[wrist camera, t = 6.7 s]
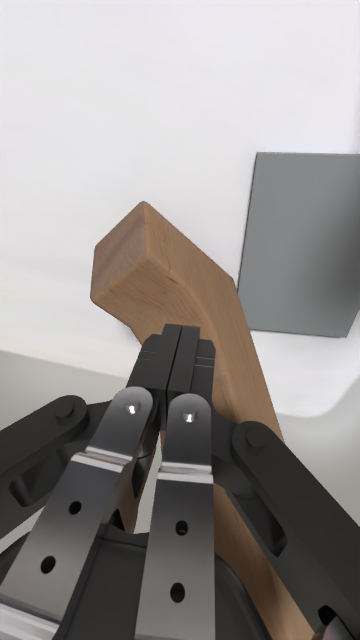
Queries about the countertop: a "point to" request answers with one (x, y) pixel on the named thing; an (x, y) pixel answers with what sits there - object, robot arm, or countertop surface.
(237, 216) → the countertop surface
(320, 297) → the grey mat
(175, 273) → the wooden block
